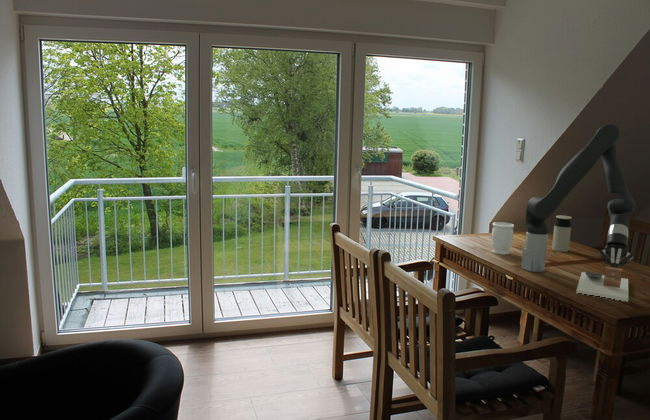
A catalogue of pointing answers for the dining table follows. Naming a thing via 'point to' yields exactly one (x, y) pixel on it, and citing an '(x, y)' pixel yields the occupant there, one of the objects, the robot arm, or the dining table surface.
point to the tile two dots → (612, 277)
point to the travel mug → (561, 234)
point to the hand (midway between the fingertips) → (613, 272)
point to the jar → (502, 237)
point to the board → (602, 288)
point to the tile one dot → (594, 274)
